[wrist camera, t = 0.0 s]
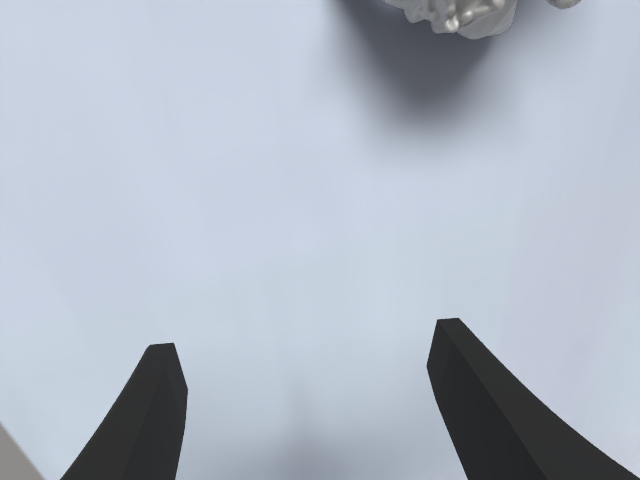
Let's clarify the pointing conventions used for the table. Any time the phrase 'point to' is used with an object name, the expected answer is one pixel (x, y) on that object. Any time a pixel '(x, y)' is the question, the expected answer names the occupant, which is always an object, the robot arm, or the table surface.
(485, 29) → the elephant statuette
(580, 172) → the table surface
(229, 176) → the table surface
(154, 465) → the robot arm
